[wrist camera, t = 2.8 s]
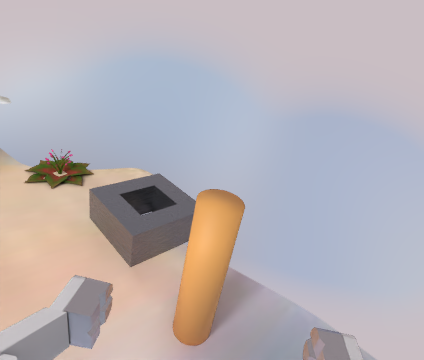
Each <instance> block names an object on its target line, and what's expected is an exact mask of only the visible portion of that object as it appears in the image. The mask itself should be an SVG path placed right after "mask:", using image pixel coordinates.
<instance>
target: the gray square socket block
mask: <svg viewBox="0 0 424 360" xmlns="http://www.w3.org/2000/svg"><path fill="white" fill-rule="evenodd" d="M89 191H90V218H91V220H92V221H93V222H94V223H95V224H96V226H97V227H98V228H99V229H100V231H101V232H102V233H103V234H104V235H105V237H106V238H107V239H108V240H109V241H110V243H111V244H112V245H113V246H114V248H115V249H116V250H117V251H118V252H119V254H120V255H121V256H122V257H123V258H124V260H125V261H126V262H127V263H128V265H129V266H130V267H132V266H134V265H136V264H138V263H141V262H143V261H145V260H147V259H149V258H152V257H154V256H156V255H158V254H161V253H163V252H165V251H167V250H170V249H172V248H174V247H176V246H179V245H181V244H183V243H185V242H187V241H189V237H190V231H191V226H192V221H193V215H194V210H195V205H196V201H195V200H193V199H192V198H191V197H190V196H188V195H187V194H186V193H184V192H183V191H182V190H180V189H179V188H178V187H176V186H175V185H174V184H172V183H171V182H170V181H168V180H167V179H166V178H164V177H163V176H162V175H161V174H156V175H151V176H147V177H142V178H138V179H133V180H129V181H124V182H120V183H115V184H111V185H106V186H102V187H97V188H93V189H89ZM151 211H152V213H149V214H145V213H148V212H151ZM142 214H145V215H142ZM141 215H142V216H141Z"/></svg>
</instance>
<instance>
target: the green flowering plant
mask: <svg viewBox="0 0 424 360" xmlns="http://www.w3.org/2000/svg"><path fill="white" fill-rule="evenodd" d="M52 151H53V150H52ZM69 152H70V151H69ZM69 152H68V153H69ZM49 154H50V155H52V154H51V153H49ZM65 156H66V155H65ZM65 156H64V157H65ZM69 156H71V155H69ZM69 156H68V157H69ZM51 157H53V158H54V160H55V162H54V161H49V159H47V158H46V160H48V161H42V160H40V164H39V165H36V166H34V167H32V168H30V169H29V170H25V171H34V172H36V173H37V174H34V175H32V176H30V177H29V178H28V180H27V181H26V182H24V183H27V182H38V181H47V182H48V184H49V185H50V186H51V188H53V187H55V186H56V185H57V184H59V183H61V182H67V183H72V184H78V185H82V182H81V181H82V178H81V176H79V175H80V174H93V173H91V172H90V171H88V170H87V169H86V167H87V166H88V165H89V164H86V163H73V162H72V161H70V160H68V159H69V158H68V159H66V158H67V157H66V158H65V159H66V160H65V159H64V157H63V158H62V160H58V158H57V157H56V158H57V161H56V159H55V157H54V156H53V155H52V156H51ZM63 159H64V160H63ZM62 170H63V171H65V172H66V173H68V174H66V175H63V176H60V177H58V176H56V175H54V174H53V172H56V171H57V172H58V174H61V173H62ZM46 175H47V176H46ZM68 176H71V178H70V180H69V179H67V178H68ZM44 177H45V179H43V178H44Z"/></svg>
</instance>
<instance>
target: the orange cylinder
mask: <svg viewBox="0 0 424 360" xmlns="http://www.w3.org/2000/svg"><path fill="white" fill-rule="evenodd" d="M244 209H245V205H244V202H243V201H242V200H241V199H240V198H239V197H238V196H236V195H234V194H232V193H230V192H227V191H224V190H218V189H210V190H205V191H202V192H200V193H199V194H198V196H197V199H196V205H195V210H194V215H193V221H192V226H191V231H190V237H189V242H188V247H187V253H186V258H185V263H184V269H183V274H182V279H181V285H180V290H179V296H178V301H177V306H176V312H175V317H174V322H173V332H174V334H175V336H176V338H177V339H178V340H179V341H180V342H182V343H184V344H186V345H190V346H195V345H199V344H201V343H203V342H204V341H205V340H206V339H207V338H208V336H209V333H210V330H211V326H212V323H213V319H214V316H215V312H216V309H217V305H218V302H219V298H220V294H221V291H222V287H223V284H224V280H225V277H226V273H227V270H228V266H229V262H230V259H231V255H232V252H233V248H234V245H235V241H236V238H237V234H238V230H239V227H240V223H241V220H242V216H243V213H244Z"/></svg>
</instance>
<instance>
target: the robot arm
mask: <svg viewBox="0 0 424 360" xmlns="http://www.w3.org/2000/svg"><path fill="white" fill-rule="evenodd" d="M112 290H113V285H112V284H111V283H107V282H103V281H98V280H94V279H90V278H86V277H82V276H77V275H75V276H74V277H72V278H71V279H70V281H69V282H68V283H67V285H66V286H65V287H64V289H63V290H62V291H61V293H60V294H59V295H58V297H57V298H56V299H55V301H54V302H53V303H52V305H51V306H50V308H43V309H42V310H40V311H38V312H36V313H34V314H32V315H30V316H29V317H27V318H25V319H23V320H21V321H19V322H17V323H16V324H14V325H12V326H10V327H8V328H6V329H4V330H3V331H1V332H0V360H53V359H54V358H55V357H56V356H58V355H59V354H60V353H61V352H63V351H64V350H65V349H67V348H68V347H69V345H74V346H79V347H84V348H89V349H92V347H93V346H94V344H95V342H96V340H97V338H98V336H99V334H100V326H101V325H102V324H104V323H105V322H106V320H107V318H108V316H109V313H110V310H111V306H112V297H111V295H110V294H111V292H112ZM310 335H311V338H310V339H308V340H306V343H305V345H304V350H303V360H363V357H362V354H361V352H360V349H359V346H358V344H357V341H356V338H355V337H354V336H352V335H347V334H343V333H339V332H335V331H330V330H325V329H320V328H313V329H312V331H311V333H310Z"/></svg>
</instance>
